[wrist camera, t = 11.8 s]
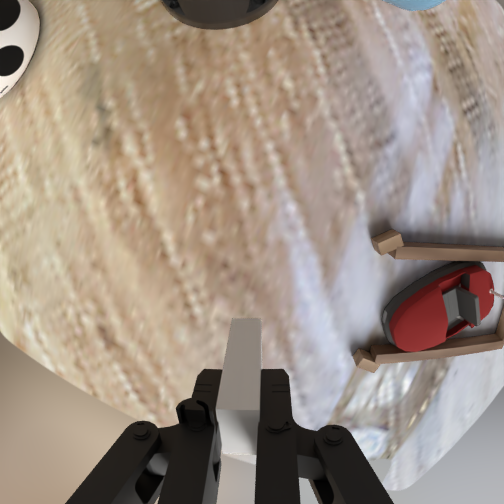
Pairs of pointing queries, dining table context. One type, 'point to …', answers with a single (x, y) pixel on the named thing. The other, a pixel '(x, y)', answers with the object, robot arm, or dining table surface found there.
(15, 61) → the milk container
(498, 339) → the cradle
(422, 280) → the bumper car
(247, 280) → the dining table surface
